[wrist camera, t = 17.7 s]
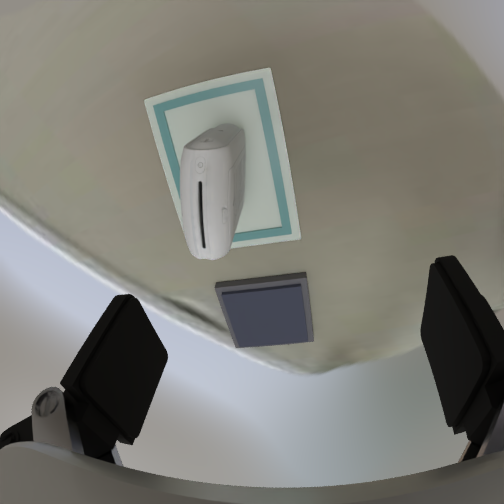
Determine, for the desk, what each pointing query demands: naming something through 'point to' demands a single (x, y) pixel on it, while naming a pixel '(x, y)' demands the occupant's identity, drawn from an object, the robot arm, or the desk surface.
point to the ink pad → (267, 310)
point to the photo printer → (212, 190)
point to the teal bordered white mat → (256, 147)
